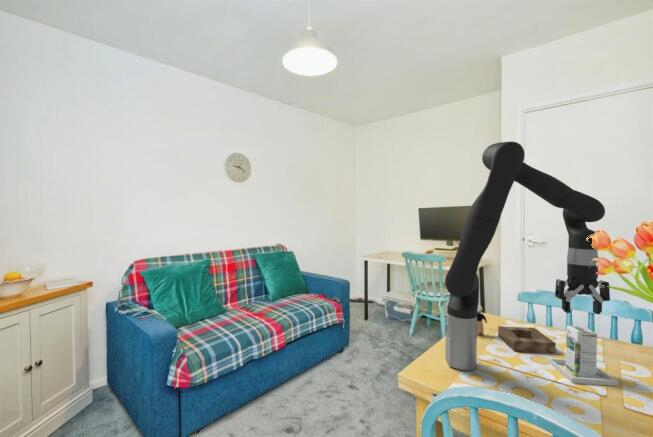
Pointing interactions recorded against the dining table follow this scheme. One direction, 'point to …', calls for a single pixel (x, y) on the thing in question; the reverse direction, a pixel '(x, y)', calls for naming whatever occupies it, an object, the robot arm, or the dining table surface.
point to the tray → (606, 381)
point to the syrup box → (581, 351)
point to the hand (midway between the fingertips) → (581, 312)
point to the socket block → (526, 340)
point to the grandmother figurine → (480, 321)
